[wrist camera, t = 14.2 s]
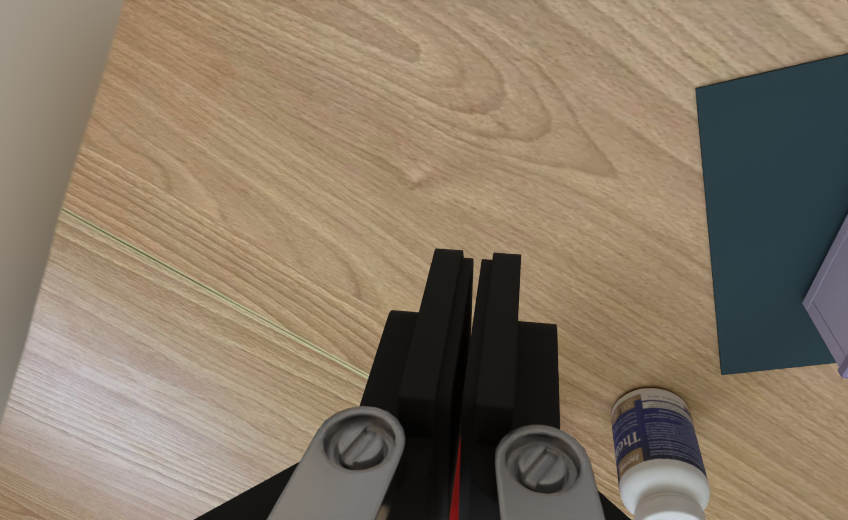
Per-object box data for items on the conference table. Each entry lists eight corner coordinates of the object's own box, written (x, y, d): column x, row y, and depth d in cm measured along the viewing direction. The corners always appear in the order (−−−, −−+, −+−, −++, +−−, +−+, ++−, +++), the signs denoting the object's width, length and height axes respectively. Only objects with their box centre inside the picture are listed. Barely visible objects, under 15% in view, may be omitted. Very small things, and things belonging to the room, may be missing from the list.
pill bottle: (618, 380, 44) (634, 497, 36) (697, 390, 44) (732, 512, 36) (603, 433, 47) (616, 553, 39) (678, 444, 47) (706, 567, 39)
